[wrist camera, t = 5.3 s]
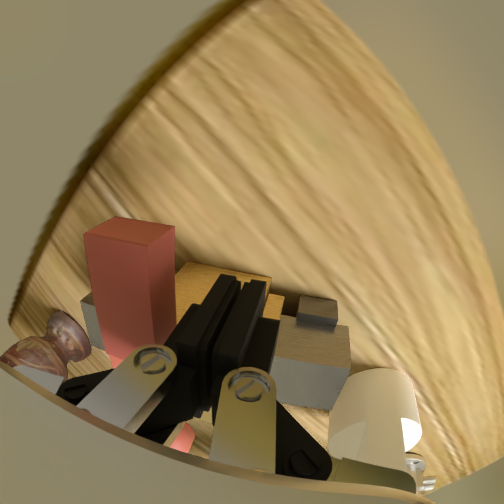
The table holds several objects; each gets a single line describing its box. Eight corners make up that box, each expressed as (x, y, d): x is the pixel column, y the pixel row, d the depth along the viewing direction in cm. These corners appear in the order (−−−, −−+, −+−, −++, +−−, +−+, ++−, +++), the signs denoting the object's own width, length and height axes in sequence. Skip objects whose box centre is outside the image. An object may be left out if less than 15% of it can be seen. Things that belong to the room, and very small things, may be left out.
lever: (197, 446, 15) (186, 471, 13) (144, 427, 16) (131, 450, 14) (191, 229, 9) (163, 253, 8) (103, 214, 10) (67, 232, 8)
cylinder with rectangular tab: (331, 369, 26) (325, 483, 15) (421, 364, 24) (445, 469, 13) (327, 422, 29) (319, 514, 19) (402, 417, 27) (411, 506, 16)
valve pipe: (352, 292, 23) (365, 421, 12) (327, 364, 26) (319, 482, 15) (123, 247, 26) (28, 320, 15) (131, 318, 29) (62, 398, 18)
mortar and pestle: (122, 368, 33) (37, 487, 15) (95, 381, 37) (23, 477, 19) (62, 298, 31) (-49, 399, 13) (43, 321, 34) (-45, 406, 16)
